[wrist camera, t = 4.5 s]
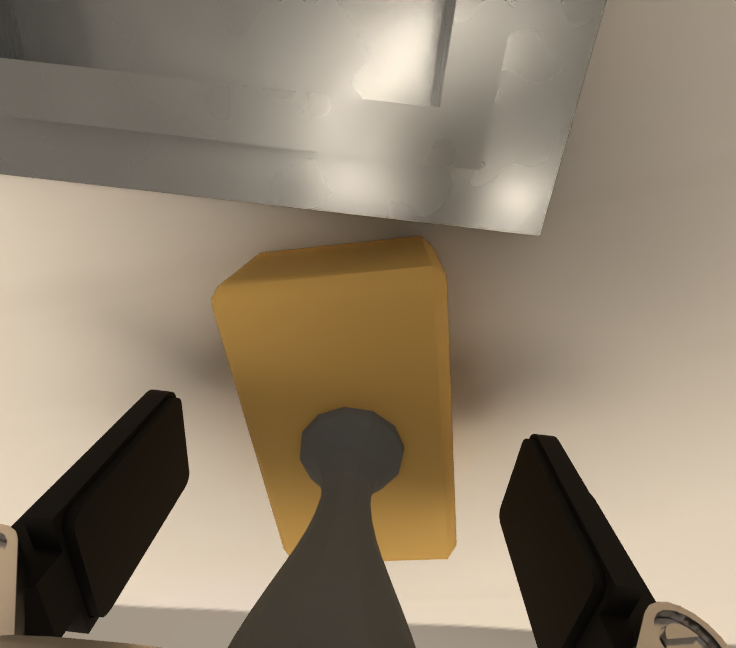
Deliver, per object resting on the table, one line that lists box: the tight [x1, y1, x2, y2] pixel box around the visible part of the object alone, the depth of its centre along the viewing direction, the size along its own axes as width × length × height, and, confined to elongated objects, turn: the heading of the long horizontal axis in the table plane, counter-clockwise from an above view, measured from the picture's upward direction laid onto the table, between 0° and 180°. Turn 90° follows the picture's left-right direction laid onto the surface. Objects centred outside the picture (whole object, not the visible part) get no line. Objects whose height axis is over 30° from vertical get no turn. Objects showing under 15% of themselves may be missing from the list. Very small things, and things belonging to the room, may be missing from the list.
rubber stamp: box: [211, 236, 457, 648], centre depth 9 cm, size 10×6×12 cm, turn 7°
